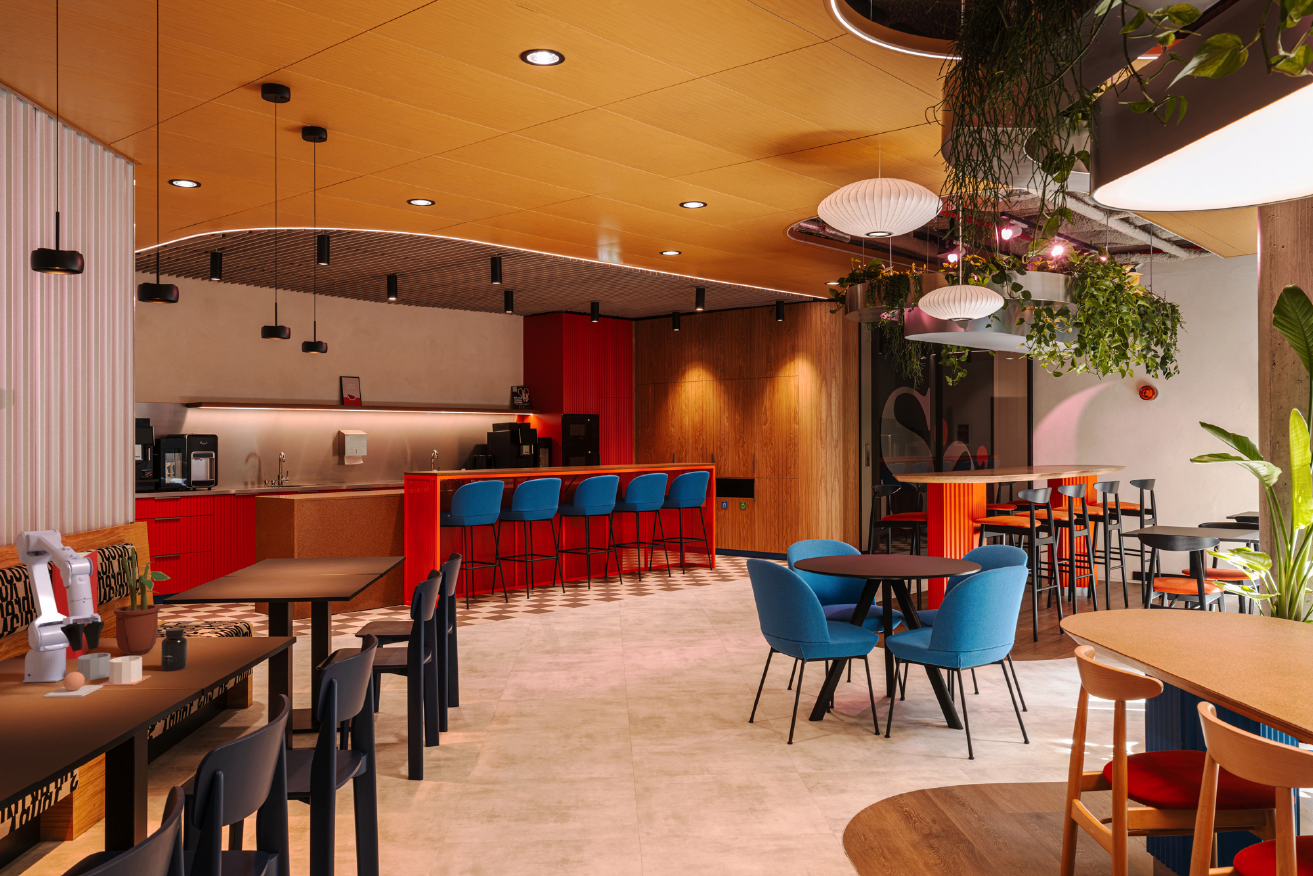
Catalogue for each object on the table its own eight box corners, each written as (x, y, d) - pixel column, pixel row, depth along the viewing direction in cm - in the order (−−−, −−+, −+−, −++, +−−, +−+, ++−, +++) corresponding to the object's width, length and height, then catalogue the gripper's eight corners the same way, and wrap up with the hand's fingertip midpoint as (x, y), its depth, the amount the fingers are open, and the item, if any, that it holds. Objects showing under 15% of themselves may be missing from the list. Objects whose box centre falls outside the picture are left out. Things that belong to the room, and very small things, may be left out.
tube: (99, 685, 247) (99, 663, 247) (117, 677, 257) (117, 655, 257) (133, 685, 248) (134, 662, 248) (151, 676, 257) (151, 655, 258)
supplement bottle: (160, 672, 262) (160, 632, 262) (161, 667, 268) (161, 628, 268) (186, 669, 265) (186, 630, 266) (187, 664, 271) (187, 626, 272)
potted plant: (144, 658, 280) (145, 548, 281) (96, 658, 281) (97, 548, 281) (175, 646, 298) (175, 542, 298) (130, 646, 298) (130, 543, 299)
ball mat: (43, 697, 236) (43, 695, 236) (65, 687, 246) (65, 685, 246) (82, 696, 236) (82, 694, 236) (102, 686, 246) (103, 685, 246)
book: (69, 643, 303) (70, 550, 303) (96, 641, 306) (97, 549, 306) (50, 660, 278) (51, 559, 278) (80, 658, 281) (81, 558, 281)
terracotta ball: (58, 693, 238) (58, 674, 238) (69, 688, 243) (69, 669, 243) (77, 692, 239) (78, 674, 239) (88, 687, 244) (88, 669, 244)
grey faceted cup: (71, 680, 253) (72, 659, 253) (87, 673, 261) (88, 653, 261) (100, 679, 254) (100, 659, 254) (115, 672, 262) (115, 652, 262)
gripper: (79, 598, 238) (85, 648, 236) (109, 597, 253) (114, 645, 250) (52, 603, 238) (58, 654, 236) (84, 603, 252) (89, 650, 250)
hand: (85, 649), depth 243 cm, fingers open, 7 cm apart
